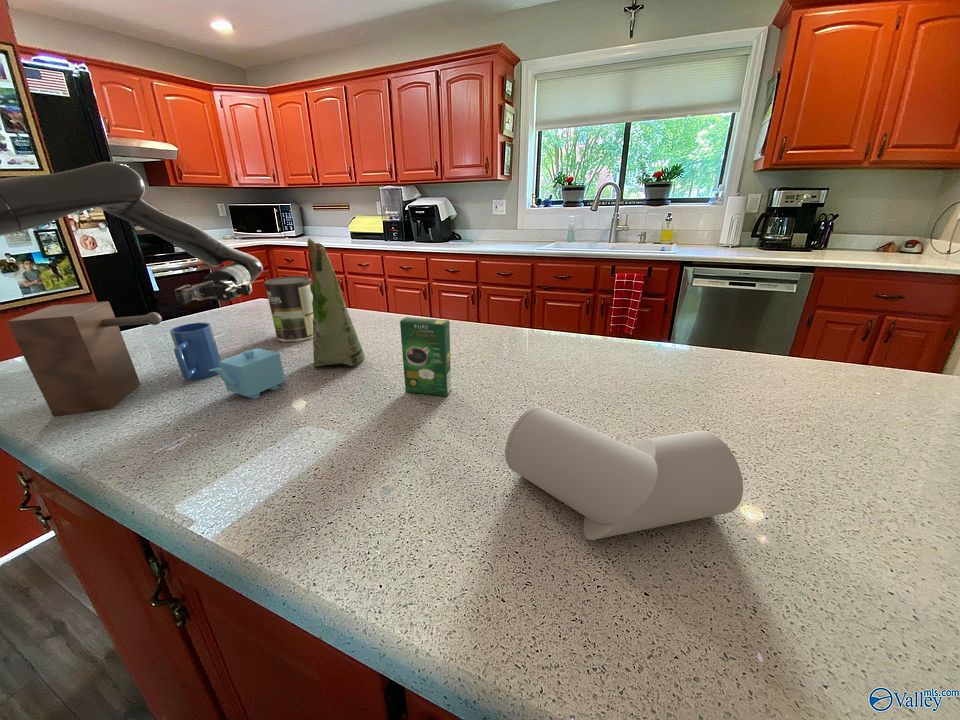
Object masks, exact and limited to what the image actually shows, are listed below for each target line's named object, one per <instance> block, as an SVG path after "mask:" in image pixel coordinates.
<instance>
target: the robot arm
mask: <svg viewBox="0 0 960 720" xmlns="http://www.w3.org/2000/svg"><path fill="white" fill-rule="evenodd" d="M145 191H146V185H145V181H144V180H143V178H142V177H141V175H140V174H139V173H138V172H137V171H136V170H134V169H133V168H132V167H129V166H127V165H126V164H122V163H119V162H114V161H102V162H101V161H100V162H97V163H93V164H90V165H86V166H82V167H78V168H74V169H70V170H65V171H60V172H55V173H47V174H33V175H21V176H14V177H13V176H12V177H5V178H4V177H3V178H0V237H2V236H6V235H11V234H15V233H21V232H25V231H27V230H31V229H34V228H38V227H41V226H43V225H46V224H49V223H51V222H55V221H57V220H59V219H62V218H64V217H67V216H70V215H72V214H74V213H77V212H81V211H85V210H91V209H97V208H98V209H101V210H103V211H104V212H106V213H109V214H110V215H113V216H115V217H117V218H120V219H122V220H124V221H127V222H129V223H131V224H133V225H135V226H137V227H139V228H141V229H143V230H145V231H147V232H150V233H151V234H153V235H156V236H157V237H160V239H161V238H162V239H163V240H165V241H167V242H169V243H171V244H172V245H173V246H175V247H177V248H178V249H181V250H182V251H185V252H186V253H188V254H189V255H191V256H193V258H194V257H195V258H196V259H197V260H199V261H201V262H203V263H204V264H206V265H207V266H209V267H211V268H216V267H218V266H220V267H218V268H216V269H214V270H213V271H212V270H211V272H209V273H208V274H207V275H205V277H204V280H203V282H201V283H196V284H193V285H191V284H188V283H187V284H185V285H182V286H180V287H177V288H176V289H174V293H175V296H176V299H177V302H179V303H181V304H182V305H187V304H188V303H190V302H192V301H195V300H196V301H205V300H208V299H213V300H216V301H218V302H225V303H226V302H230V301H234V299H236V298H240V297H241V295H243V296H245V297H248V296H250V295H251V293H252V292H253V287H252V284H253V283H254V282H255V280H256V279H257V278H259V276H261V274H262V273H263V271H264V267H263V264H262V263H261V261H260V260H259V259H258V258H257V257H255V256H254V255H252V254H250V253H246V252H244V251H241V250H238V249H235V248H233V247H231V246H229V245H226V244H224V243H223V242H221V241H219V240H218V239H217V238H215V237H214V236H212V235H211V234H209V233H208V232H207V231H205V230H203V229H201V228H199V227H198V226H197V225H196V226H195V225H194V224H192V223H189V222H187V221H184V220H182V219H180V218H177V217H174V216H172V215H170V214H167V213H165V212H163V211H161V210H160V209H157V208H156V207H154V206H152V205H151V204H149V203H147V202H146V201H145V200H144V199H143V197H144V196H145V194H146V193H145ZM225 262H231V263H230V264H226V265H224V266H221V265H222V264H223V263H225Z"/></svg>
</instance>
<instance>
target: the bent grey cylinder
mask: <svg viewBox="0 0 960 720" xmlns="http://www.w3.org/2000/svg"><path fill="white" fill-rule="evenodd" d="M504 459H505V464H506V465H507V467H508V468H509V469H510V470H511V471H513V472H514V473H516V474H517V475H519V476H520V477H522V478H524V479H525V480H527V481H528V482H530V483H532V484H533V485H535V486H536V487H538V488H540V489H541V490H543V491H544V492H546V493H547V494H548V495H551V496H552V497H554V498H555V499H557V500H559V501H560V502H562V503H563V504H565V505H567V506H568V507H569V508H571V509H573V510H574V511H576V512H577V513H579V514H580V515H582V516H583V517H584V519H583V525H582V526H583V527H582V529H583V535H584V537H585V539H587V540H590V541H594V540H599V539H603V538H604V539H605V538H609V537H615V536H619V535H624V534H625V535H626V534H629V533H635V532H639V531H644V530H650V529H655V528H660V527H665V526H669V525H675V524H681V523H685V522H689V521H696V520H700V519H705V518H709V517H714V516H719V515H725V514H730V513H732V512H733V511H735V510H736V509H738V507H739V505H740V504H741V501H742V498H743V494H744V480H743V475H742V471H741V467H740V465H739V463H738V461H737V459H736V457H735V455H734V453H733V452H732V450H731V449H730V448H729V446H728V445H727V444H726V443H725V442H724V441H723V440H722V439H721V438H720V437H718V436H716V435H715V434H714V433H711V432H709V431H705V430H696V431H695V430H694V431H688V432H681V433H676V434H669V435H661V436H656V437H649V438H644V439H641V440H639V441H637V442H636V443H634V444H632V445H629V444H626V443H624V442H621V441H619V440H617V439H615V438H613V437H610V436H608V435H607V434H604V433H601V432H599V431H597V430H594V429H593V428H590V427H589V426H585V425H584V424H581V423H579V422H577V421H574V420H572V419H570V418H568V417H566V416H563V415H562V414H559V413H557V412H555V411H552V410H550V409H549V408H546V407H543V406H533V407H531V408H529V409H527V410H526V411H524V413H522V414H521V416H519V418H518V419H517V420H516V421H515V422H514V424H513V426H512V428H511V429H510V432H509V434H508V437H507V438H506V443H505V449H504Z"/></svg>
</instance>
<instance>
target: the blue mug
mask: <svg viewBox="0 0 960 720" xmlns="http://www.w3.org/2000/svg"><path fill="white" fill-rule="evenodd" d="M169 334H170V336H171V339H172V342H173V345H174V348H173V352H174V355H175V358H176V361H177V364H178V367H179V370H180V373H181V377H182V379H183V380H184V381H189V380H203V379H208V378H212V377H214V376H217V375H219V374H218V373H216V372H213V371H209V370H210V369H213V368H220V365H219V361H222V359H221V356H220V353H219V350H218V346H217V343H216V339H215V336H214V332H213V329H212V326H211V324H210V323H208V322H192V323H187V324H182V325H178V326H176V327H172V328H171V329H169Z"/></svg>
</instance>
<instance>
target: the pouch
mask: <svg viewBox="0 0 960 720" xmlns="http://www.w3.org/2000/svg"><path fill="white" fill-rule="evenodd" d="M306 243H307V250H308V252H307V253H308V254H307V259H308V262H309V270H308V273H309V274H310V276H311V281H312V282H311V284H310V289H311V292H312V294H313V301H312V306H313V337H314V338H312V339H313V340H312V346H313V347H312V349H313V366H314V368H316V367H317V368H318V367H322V366H339V365H344V366H345V365H346V366H350V367H356V366H358V365H359V364H361V363H363V362H364V360H365V358H366V354H365V352H364V350H363V347H362V344H361V342H360V339H359V337H358V334H357V331H356V329H355V326H354V323H353V321H352V318H351V316H350V313H349V310H348V308H347V304H346V301H345V299H344V296H343V294H342V291H341V287H340V284H339V279H338V277H337V275H336V272H335V271H334V267H333V265H332V261H331V259H330V257H329V255H328V252H327V251H328V250H327V249H326V247H325V245H323V244H322V243H321V242H316V241H315V240H314V239H311V238H310V237H308V239H307V241H306Z"/></svg>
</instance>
